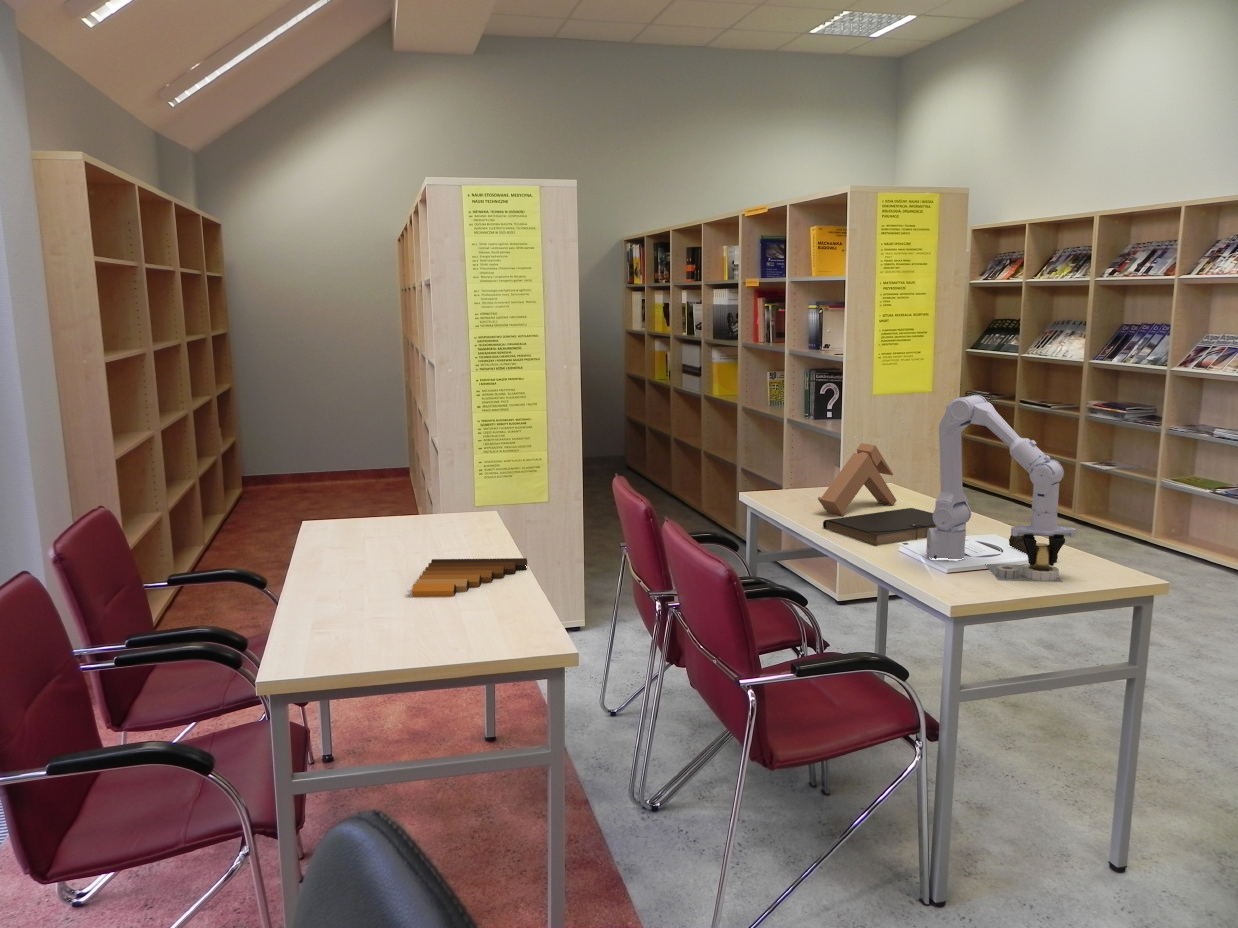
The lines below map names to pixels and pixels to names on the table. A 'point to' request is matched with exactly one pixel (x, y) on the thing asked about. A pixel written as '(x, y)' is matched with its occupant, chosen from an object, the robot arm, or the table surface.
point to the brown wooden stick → (1020, 544)
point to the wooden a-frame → (858, 481)
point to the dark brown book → (884, 526)
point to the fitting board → (1023, 573)
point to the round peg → (1042, 557)
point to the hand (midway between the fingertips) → (1040, 564)
